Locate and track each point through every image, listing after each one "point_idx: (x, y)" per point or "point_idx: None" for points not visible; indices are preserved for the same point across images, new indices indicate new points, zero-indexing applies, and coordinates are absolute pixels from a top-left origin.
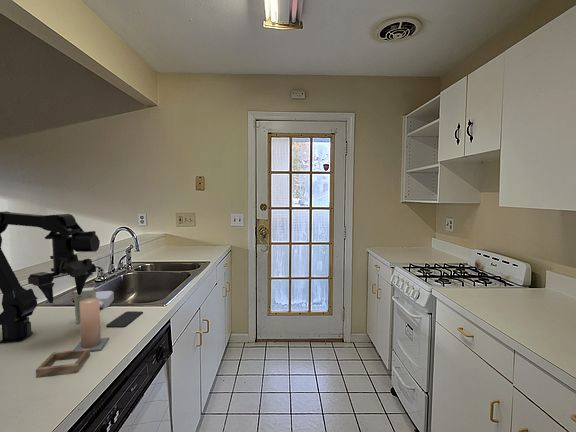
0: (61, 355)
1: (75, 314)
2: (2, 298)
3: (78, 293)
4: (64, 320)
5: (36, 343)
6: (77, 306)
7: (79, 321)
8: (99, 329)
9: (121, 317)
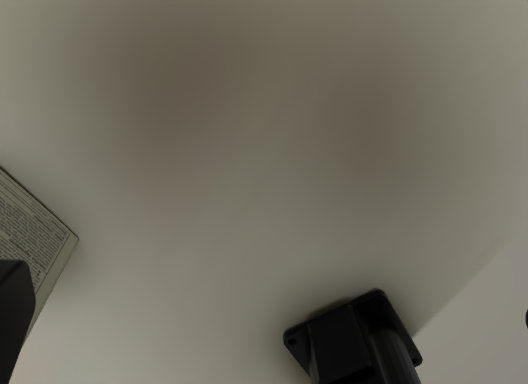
0: None
1: (53, 286)
2: None
3: (22, 307)
4: (83, 341)
5: (387, 195)
6: None
7: (58, 232)
8: None
9: None
